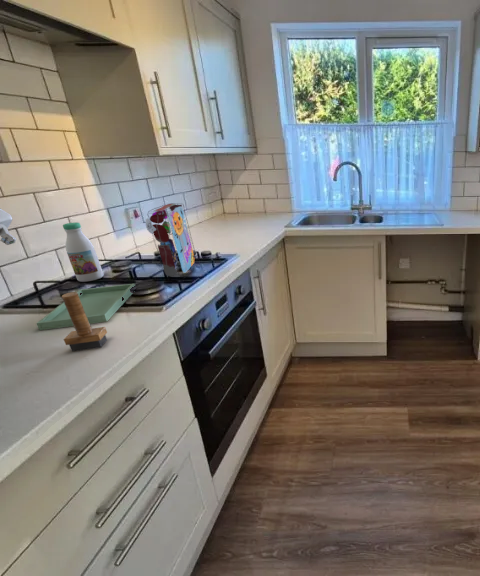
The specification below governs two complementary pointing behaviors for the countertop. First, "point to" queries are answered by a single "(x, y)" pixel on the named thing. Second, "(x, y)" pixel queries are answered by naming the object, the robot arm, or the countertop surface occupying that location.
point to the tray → (90, 306)
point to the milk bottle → (82, 254)
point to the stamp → (81, 326)
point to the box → (167, 244)
